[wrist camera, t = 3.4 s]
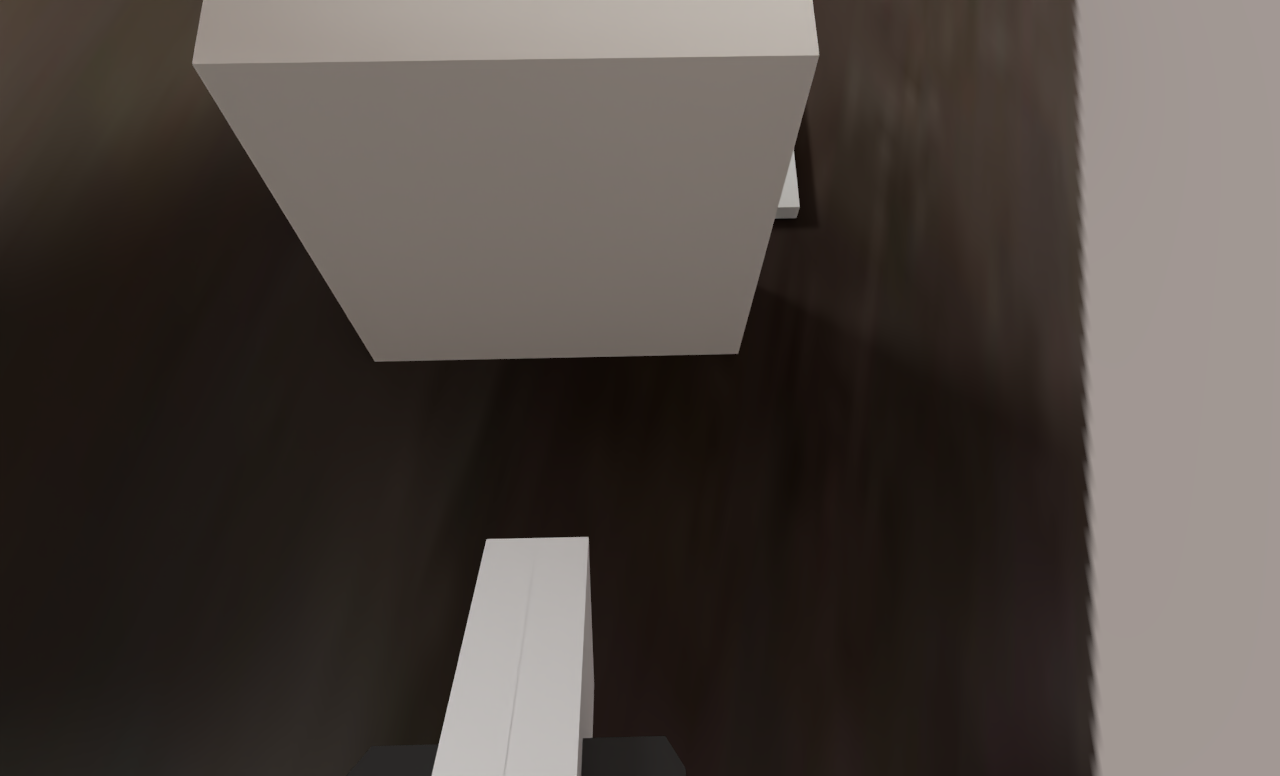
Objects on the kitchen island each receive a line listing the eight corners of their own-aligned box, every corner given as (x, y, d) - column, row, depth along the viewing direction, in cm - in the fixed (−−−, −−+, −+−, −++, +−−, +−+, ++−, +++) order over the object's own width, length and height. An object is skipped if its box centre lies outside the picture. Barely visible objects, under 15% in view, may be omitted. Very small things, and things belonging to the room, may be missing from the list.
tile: (737, 354, 27) (819, 55, 15) (374, 361, 26) (192, 64, 15) (731, 267, 28) (803, -72, 16) (381, 274, 27) (214, -65, 16)
